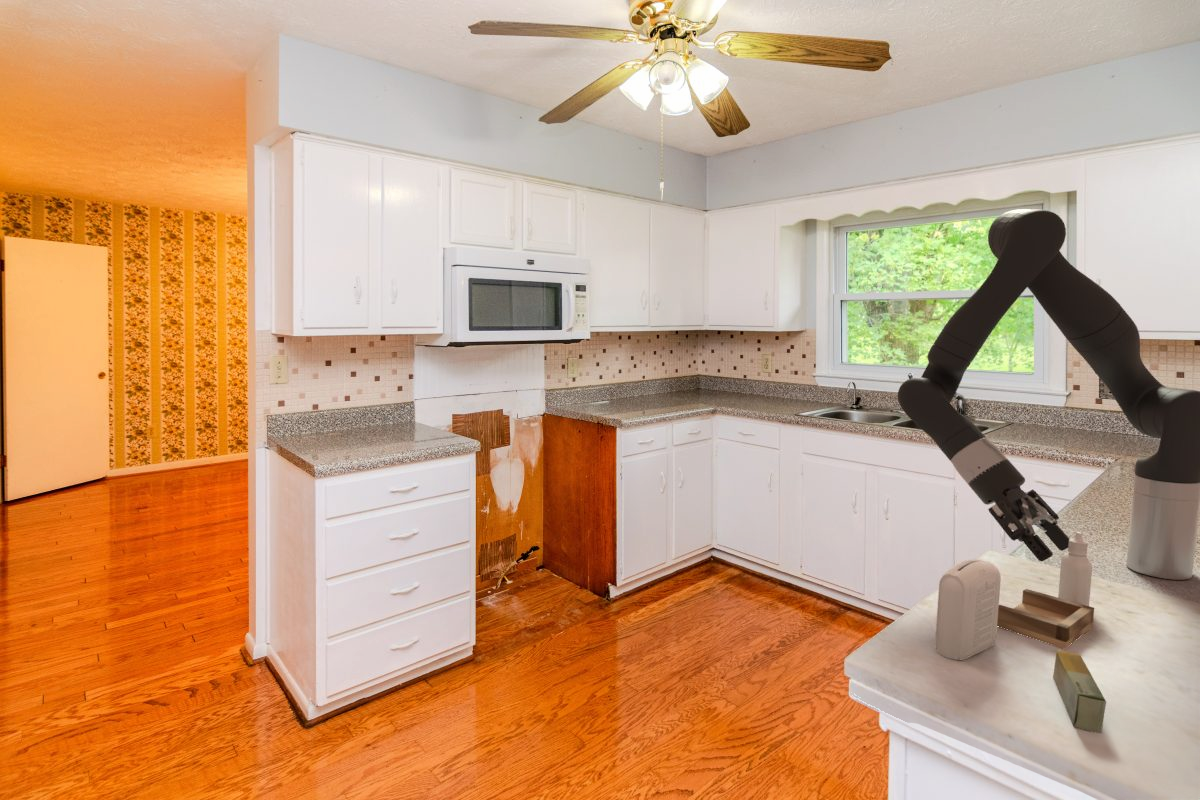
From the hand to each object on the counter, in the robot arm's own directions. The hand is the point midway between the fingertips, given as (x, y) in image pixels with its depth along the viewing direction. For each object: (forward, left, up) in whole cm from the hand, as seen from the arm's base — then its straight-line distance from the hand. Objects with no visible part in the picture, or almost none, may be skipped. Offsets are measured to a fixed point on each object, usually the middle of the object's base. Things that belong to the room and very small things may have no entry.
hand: (1057, 553), depth 107 cm
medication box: (+32, +13, -8) cm, 35 cm away
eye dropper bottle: (0, +3, -8) cm, 9 cm away
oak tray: (+12, +3, -8) cm, 15 cm away
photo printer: (+28, -1, -8) cm, 29 cm away
